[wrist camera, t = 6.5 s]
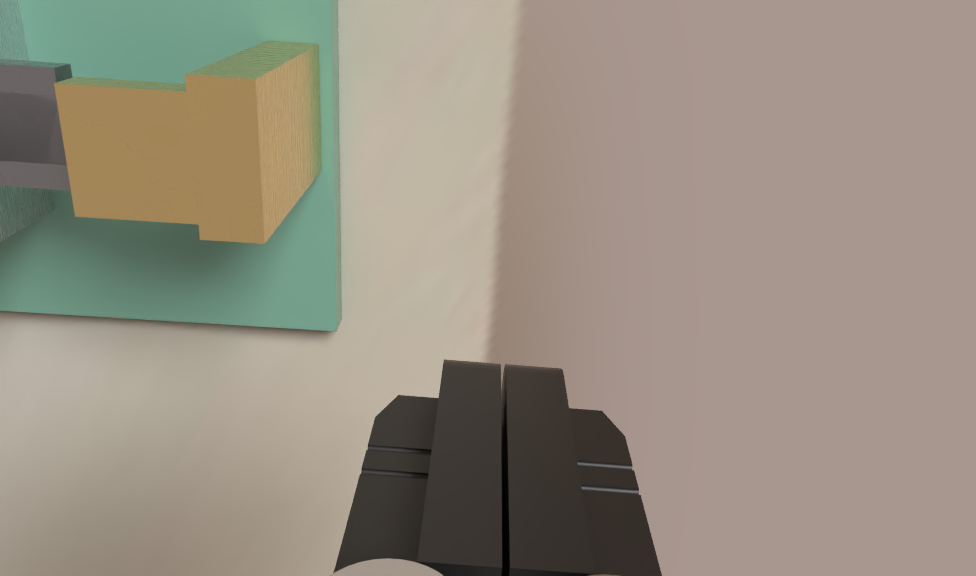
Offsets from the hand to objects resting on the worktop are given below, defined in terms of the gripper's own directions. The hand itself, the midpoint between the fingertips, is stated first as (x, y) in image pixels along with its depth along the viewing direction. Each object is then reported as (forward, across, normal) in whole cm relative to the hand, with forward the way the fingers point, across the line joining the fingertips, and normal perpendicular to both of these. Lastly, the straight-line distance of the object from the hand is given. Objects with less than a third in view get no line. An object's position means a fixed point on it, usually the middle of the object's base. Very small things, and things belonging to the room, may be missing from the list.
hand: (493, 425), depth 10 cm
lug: (+16, +8, -1) cm, 18 cm away
